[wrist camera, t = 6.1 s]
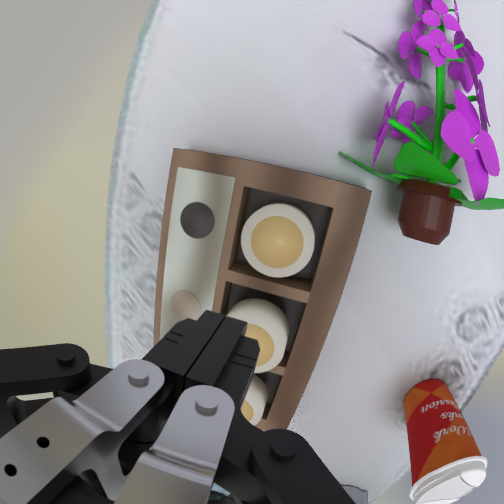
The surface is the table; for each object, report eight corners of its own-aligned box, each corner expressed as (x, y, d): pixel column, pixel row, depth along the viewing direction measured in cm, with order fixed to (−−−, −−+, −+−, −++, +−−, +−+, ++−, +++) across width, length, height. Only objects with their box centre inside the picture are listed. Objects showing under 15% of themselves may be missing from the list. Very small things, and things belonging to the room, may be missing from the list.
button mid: (296, 308, 24) (292, 327, 21) (280, 360, 26) (274, 381, 23) (232, 290, 25) (220, 306, 22) (222, 343, 27) (210, 362, 24)
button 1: (322, 210, 24) (322, 216, 21) (305, 272, 26) (303, 286, 23) (257, 194, 25) (248, 197, 22) (244, 256, 27) (234, 267, 24)
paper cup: (465, 382, 25) (503, 470, 12) (424, 424, 28) (442, 512, 15) (425, 361, 26) (461, 462, 13) (381, 407, 29) (391, 508, 15)
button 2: (274, 378, 27) (268, 400, 24) (261, 414, 28) (255, 435, 25) (218, 362, 28) (207, 381, 25) (211, 399, 29) (201, 418, 26)
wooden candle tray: (365, 188, 23) (372, 191, 20) (287, 417, 32) (283, 437, 29) (188, 149, 26) (172, 147, 23) (164, 377, 34) (152, 392, 31)
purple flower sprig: (352, 217, 28) (373, -39, 20) (511, 263, 18) (492, -35, 10) (278, 210, 19) (322, -100, 11) (542, 288, 9) (469, -109, 1)
